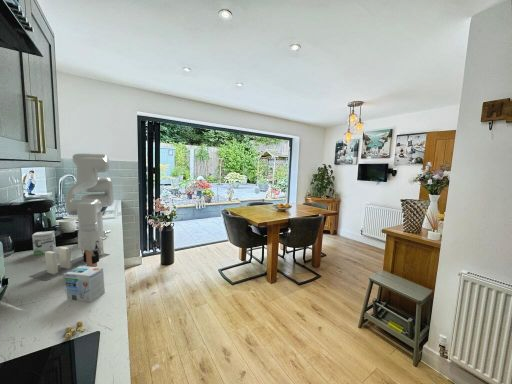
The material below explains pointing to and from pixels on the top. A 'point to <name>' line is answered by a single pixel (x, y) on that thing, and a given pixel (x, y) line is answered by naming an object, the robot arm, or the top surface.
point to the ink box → (43, 242)
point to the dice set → (73, 330)
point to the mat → (62, 269)
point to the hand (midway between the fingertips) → (91, 261)
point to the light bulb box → (84, 283)
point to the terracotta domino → (89, 259)
